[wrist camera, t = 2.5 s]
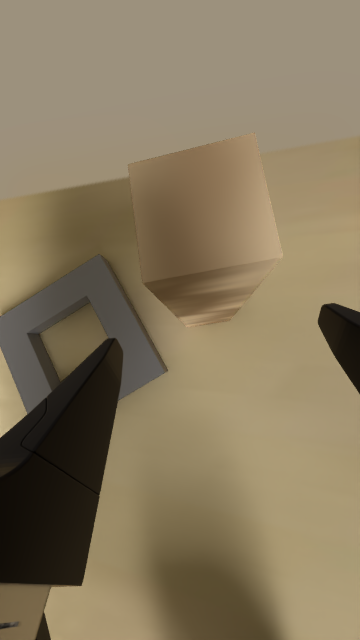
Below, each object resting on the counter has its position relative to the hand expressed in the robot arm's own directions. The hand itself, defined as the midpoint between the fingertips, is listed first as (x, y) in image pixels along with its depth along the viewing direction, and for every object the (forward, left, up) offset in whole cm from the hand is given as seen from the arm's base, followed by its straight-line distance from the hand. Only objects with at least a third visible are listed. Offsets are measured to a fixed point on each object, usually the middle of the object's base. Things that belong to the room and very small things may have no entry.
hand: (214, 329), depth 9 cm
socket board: (+12, +4, -10) cm, 17 cm away
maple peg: (+1, -3, -10) cm, 11 cm away
